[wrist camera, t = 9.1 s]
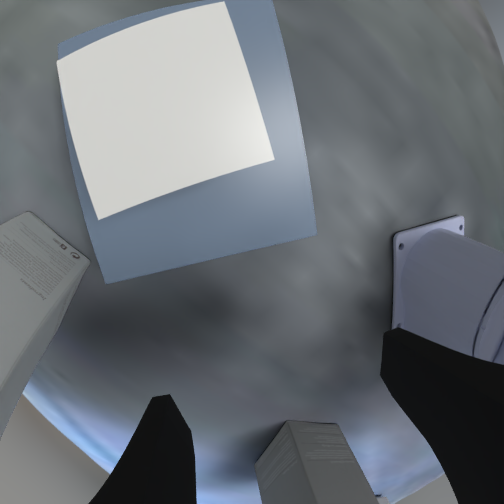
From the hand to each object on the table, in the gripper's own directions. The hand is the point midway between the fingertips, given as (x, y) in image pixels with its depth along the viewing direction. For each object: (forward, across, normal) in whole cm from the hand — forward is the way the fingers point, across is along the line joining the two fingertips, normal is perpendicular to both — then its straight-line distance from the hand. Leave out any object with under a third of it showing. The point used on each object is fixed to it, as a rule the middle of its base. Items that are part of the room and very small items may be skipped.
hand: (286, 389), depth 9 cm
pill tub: (+7, +2, -9) cm, 12 cm away
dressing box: (+11, +1, -9) cm, 14 cm away
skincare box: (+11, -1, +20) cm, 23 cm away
